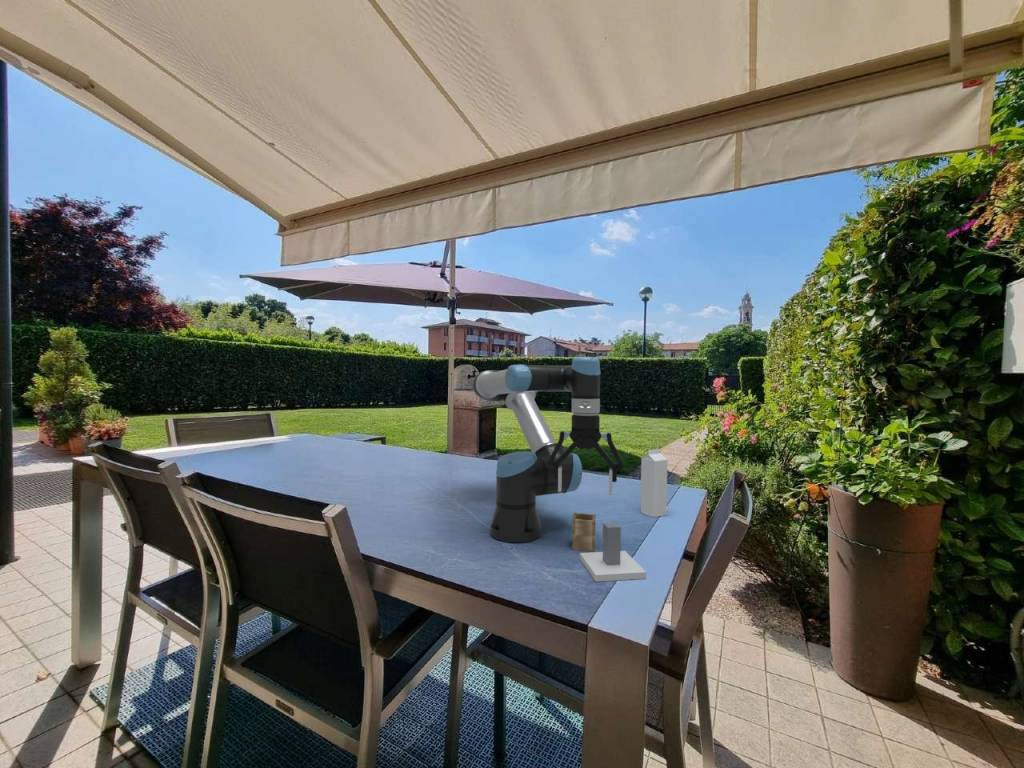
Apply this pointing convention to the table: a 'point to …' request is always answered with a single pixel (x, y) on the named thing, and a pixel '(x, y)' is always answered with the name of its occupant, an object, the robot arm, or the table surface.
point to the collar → (583, 532)
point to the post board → (612, 570)
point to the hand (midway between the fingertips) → (584, 492)
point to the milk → (654, 484)
